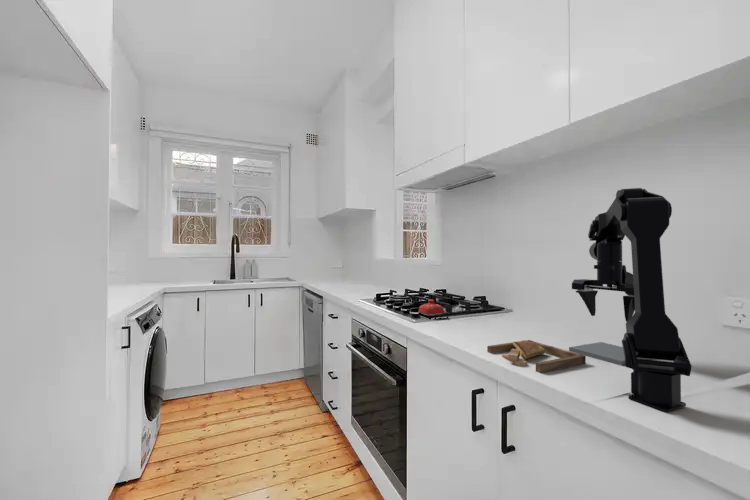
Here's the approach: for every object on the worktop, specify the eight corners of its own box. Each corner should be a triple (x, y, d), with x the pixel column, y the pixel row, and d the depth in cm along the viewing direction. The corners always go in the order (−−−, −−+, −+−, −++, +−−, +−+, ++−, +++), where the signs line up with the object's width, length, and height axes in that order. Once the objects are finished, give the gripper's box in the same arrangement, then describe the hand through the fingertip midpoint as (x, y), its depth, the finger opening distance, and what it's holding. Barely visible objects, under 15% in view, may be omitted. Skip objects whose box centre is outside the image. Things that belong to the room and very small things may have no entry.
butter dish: (412, 318, 148) (412, 298, 148) (435, 316, 152) (435, 297, 153) (426, 323, 137) (426, 301, 138) (450, 321, 142) (450, 300, 142)
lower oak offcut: (527, 367, 85) (527, 361, 85) (518, 368, 84) (518, 362, 84) (510, 359, 92) (510, 353, 92) (502, 360, 91) (501, 354, 91)
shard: (524, 360, 87) (525, 353, 87) (498, 349, 93) (499, 342, 93) (546, 354, 94) (547, 348, 94) (520, 344, 100) (521, 338, 100)
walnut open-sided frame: (585, 363, 86) (585, 355, 86) (540, 372, 80) (540, 364, 80) (529, 346, 102) (529, 340, 102) (487, 353, 95) (487, 346, 95)
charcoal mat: (654, 358, 90) (654, 354, 91) (621, 365, 85) (621, 361, 85) (601, 345, 103) (601, 342, 103) (569, 350, 98) (569, 347, 98)
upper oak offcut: (517, 361, 85) (517, 355, 85) (508, 360, 86) (508, 354, 86) (520, 355, 90) (520, 349, 90) (511, 354, 91) (511, 348, 91)
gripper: (666, 261, 89) (666, 322, 89) (594, 260, 106) (595, 311, 106) (640, 262, 85) (641, 326, 85) (570, 260, 102) (570, 313, 102)
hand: (609, 318), depth 94 cm, fingers open, 9 cm apart
